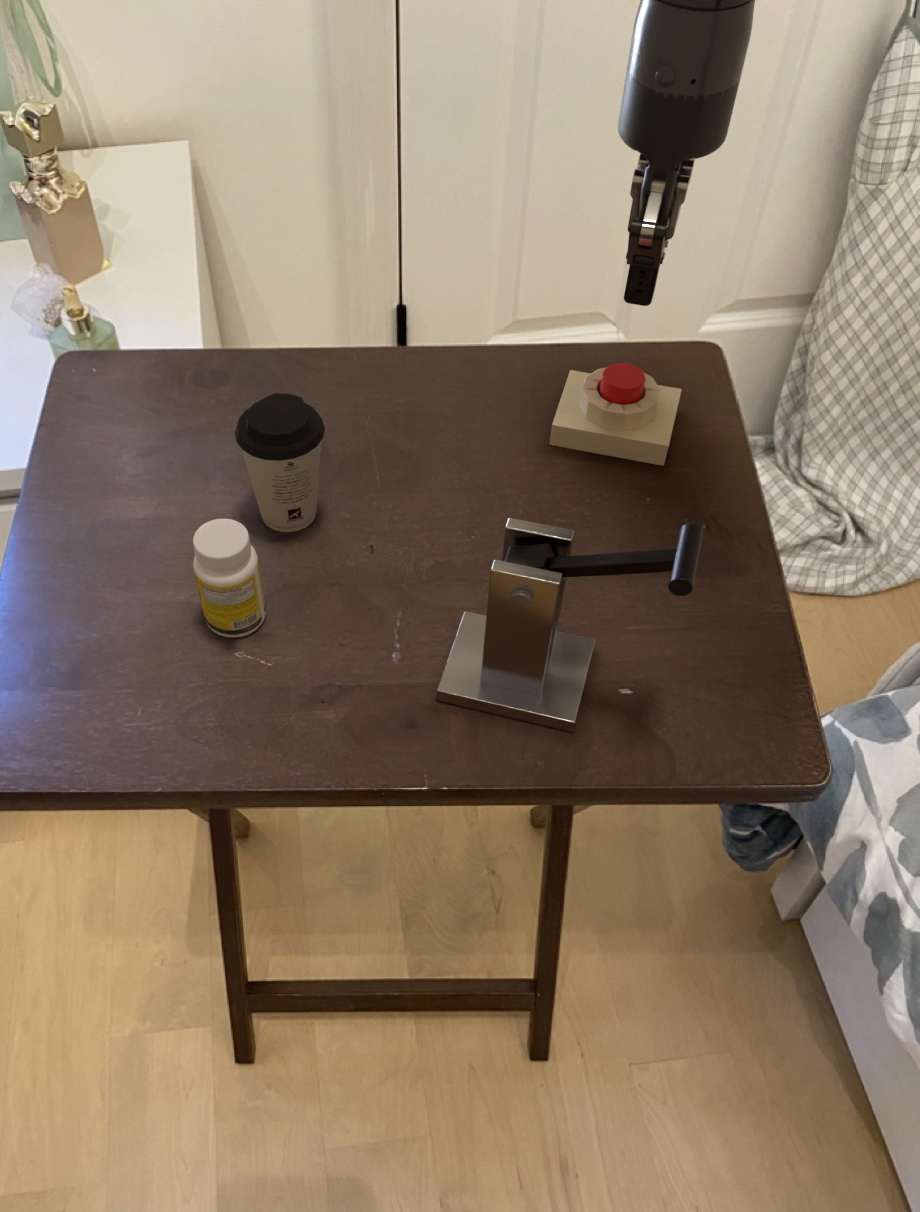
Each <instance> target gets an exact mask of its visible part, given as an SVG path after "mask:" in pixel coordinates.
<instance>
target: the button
mask: <svg viewBox="0 0 920 1212" xmlns="http://www.w3.org/2000/svg"><path fill="white" fill-rule="evenodd" d="M606 367H607V368H606ZM606 367H604V368H605V370H604V371H603V374H602V380H601V385H600V395H601V397H602V398H603V399H605V400H606V401H608V402H610V403H615V404H620V405H628V404H634V403H636V402H637V401H639V400H640V398H641V396H642V392H643V387H644V382H645V374H644V373H645V372H644V371H643V370H642V369H641V368H640V367H639V366H636V365H634V364H631V363H628V362H627V363H625V362H618V363H613V364H612V363H611V364H610V365H608V366H606Z"/></svg>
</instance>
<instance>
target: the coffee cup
mask: <svg viewBox="0 0 920 1212" xmlns="http://www.w3.org/2000/svg"><path fill="white" fill-rule="evenodd" d="M325 431H326V427H325V423H324V419H323V418H322V416H320V414H319V413H318V411H317V410H316V409H315V408H314V407H313V406H312V405H309V404H308V403H306V402H305V401H304V399H303V398H302V396H298V395H295V394H292V393H283V392H282V393H281V392H280V393H279V392H274V393H272V394H269V395H267V396H266V397H263V398H262V399H259V400H258V401H256V402H254V403H253V404H251V406H250V407H248V408H247V409H245V411H244V412H243V413H242V414H241V415H240V417H238V420H237V423H236V426H235V430H234V437H235V442H236V444H237V445H238V446H239V447H240V449H241V453H242V455H243V459H244V463H245V466H246V469H247V472H248V475H249V479H250V483H251V486H252V489H253V493H254V496H255V500H256V502H257V505H258V508H259V512H260V515H261V519H262V521H263V523H264V524H265V525H266V526H267V527H268V528H270V529H271V530H273V531H277V532H280V533H293V532H299V531H301V530H304V529H306V528H307V527H309V526H310V525H311V524H312V523H313V521H314V520H315V519H316V517H317V516H316V515H317V510H318V496H319V494H318V493H319V481H320V466H321V452H322V440H323V439H324V437H325V436H324V435H325Z"/></svg>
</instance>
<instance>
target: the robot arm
mask: <svg viewBox="0 0 920 1212" xmlns="http://www.w3.org/2000/svg"><path fill="white" fill-rule="evenodd" d="M755 4H756V0H640V1H639V3H638V8H637V11H636V15H635V18H634V23H633V27H632V28H633V29H632V34H631V42H630V48H629V54H628V61H627V65H626V72H625V78H624V85H623V90H622V97H621V103H620V110H619V116H618V121H617V132H618V135H619V137H620V140H621V141H623V143H624V144H625V145H626V146H627V147H628V148H630V149H631V150H633V151H635V152H638V153H639V157H638V162H637V166H636V168H634V172H633V177H632V179H631V186H630V193H629V195H630V196H631V199H632V201H631V205H630V206H631V207H630V213H629V218H628V223H627V224H628V225H627V232H628V242H627V243H628V245H627V252H626V255H625V260H626V265H629V268H628V273H627V278H626V284H625V289H624V294H623V301H624V302H625V303H626V304H629V305H636V306H642V307H648V306H650V305H651V304H652V303H653V298H654V294H655V291H656V286H657V281H658V277H659V272H660V268H661V265H663V262H664V260H665V256H666V252H665V250H666V249H667V248H668V246H669V240H672V238H674V235H675V231H676V227H677V225H678V224H677V223H678V220H679V216H680V214H681V209H682V205H683V204H684V203H685V201H686V198H687V193H688V190H689V186H690V182H691V178H692V175H693V171H694V166H695V162H696V159H697V160H698V159H701V158H704V157H707V156H709V155H711V154H713V153H714V152H716V151H717V150H719V149H720V148H721V147H722V146H723V144H724V143H725V141H726V139H727V136H728V132H729V128H730V124H731V119H732V115H733V111H734V107H735V103H736V99H737V95H738V90H739V86H740V82H741V77H742V74H743V69H744V65H745V61H746V58H747V54H748V48H749V44H750V41H751V35H752V31H753V30H752V28H753V21H754V14H755V13H754V12H755Z"/></svg>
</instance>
